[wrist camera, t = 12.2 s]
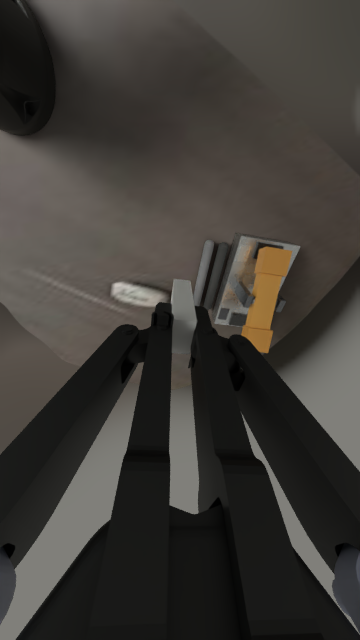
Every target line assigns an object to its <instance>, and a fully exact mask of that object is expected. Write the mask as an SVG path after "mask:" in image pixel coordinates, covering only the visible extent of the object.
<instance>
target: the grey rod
mask: <svg viewBox="0 0 360 640" xmlns="http://www.w3.org/2000/svg"><path fill="white" fill-rule="evenodd" d="M213 248H214V242H213V241H212V240H207V241H206V242H205V244H204V249H203V254H202V258H201V263H200V268H199V272H198V277H197V282H196V286H195V291H194V295H193V301H194V306H200V302H201V298H202V293H203V289H204V285H205V281H206V277H207V273H208V269H209V265H210V261H211V256H212V252H213Z"/></svg>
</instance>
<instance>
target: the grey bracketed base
mask: <svg viewBox="0 0 360 640" xmlns="http://www.w3.org/2000/svg"><path fill="white" fill-rule="evenodd" d="M264 247H272V248H278V249H284V250H289V251H292V255H291V259H290V263H289V267H288V271H287V274H288V272H289V269H290V267H291V265H292V263H293V261H294V259H295V257H296V255H297V253H298V251H299V249H300V247H301V246H299V245H296V244H293V243H290V242H285V241H279V240H274V239H268V238H262V237H257V236H251V235H245V234H240V233H236V234H235V237H234V240H233V244H232V247H231V251H230V254H229V258H228V261H227V264H226V268H225V271H224V275H223V278H222V282H221V285H220V288H219V292H218V295H217V299H216V302H215V306H214V309H213V312H212V318H213V321H214V323H215V324H222V325H230V326H238V327H243V325H246V320H247V315H248V310H249V307H250V304H251V302H252V299H253V295H252V291H253V287H254V282H255V277H256V274H255V273H254V272H255V267H256V263H257V258H258V253H259V249H261V248H264ZM285 278H286V276H285V277H282V279H281V283H280V288H281V286H282V284H283V282H284V280H285ZM280 288H279V290H280ZM276 301H277V305H276V306H275V309H274V310H275V311H276V312H281V311H282V309H283V307H284V305H285V303H286V301H285V300H284V299H283V298H282V297H281V296H280V295H279V294H278V296H277V300H276Z"/></svg>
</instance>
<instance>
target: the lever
mask: <svg viewBox="0 0 360 640" xmlns="http://www.w3.org/2000/svg"><path fill="white" fill-rule="evenodd" d="M291 255H292V251H289V250H284V249H278V248H272V247H264V248H261V249H259V253H258V258H257V263H256V267H255V272H254V273H255V274H256V277H255V282H254V287H253V291H252V295H253V299H252V302H251V304H250V307H249V310H248V315H247V320H246V325H243V330H242V334H241V335H242V336H244V337H246V338H247V339H248V340H250V342H251V343H252V344H253V345H254V346H255V348H256V349H257V350H258V351H259V352H264V353H268V351H269V346H270V342H271V338H272V334H273V331H272V330H270V326H271V322H272V317H273V313H274V309H275V306H276V305H277V301H276V300H277V296H278V292H279V288H280V283H281V279H282V277H285V276H287V271H288V267H289V263H290V259H291Z"/></svg>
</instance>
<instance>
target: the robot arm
mask: <svg viewBox="0 0 360 640" xmlns="http://www.w3.org/2000/svg"><path fill="white" fill-rule="evenodd" d="M54 101H55V76H54V69H53V64H52V60H51V56H50V52H49V49H48V46H47V43H46V40H45V38H44V35H43V33H42V31H41V29H40V27H39V25H38V22H37V21H36V19H35V17H34V15H33V13H32V12H31V10H30V8H29V7H28V5H27V4H26V2H25V1H24V0H0V129H1V130H3V131H6V132H8V133H11V134H15V135H29V134H33V133H35V132H37V131H39V130H40V129H41V128H42V127H43V126H44V125H45V124H46V123H47V121H48V120H49V118H50V116H51V113H52V110H53V106H54ZM190 350H191V357H190V362H189V366H188V368H190V367H191V380H192V392H193V406H194V419H195V431H196V444H197V458H198V471H199V492H198V510H199V513H198V514H190V513H188V512H185V511H183V510H180V509H177V508H175V507H172V506H170V505H169V498H170V496H169V495H170V456H169V431H170V429H169V428H170V397H171V394H170V393H171V362H172V353H180V354H190ZM140 362H144V365H143V370H142V375H141V381H140V386H139V391H138V396H137V401H136V406H135V411H134V417H133V422H132V427H131V432H130V437H129V442H128V447H127V451H126V454H125V456H124V459H123V462H122V467H121V472H120V476H119V481H118V486H117V491H116V496H115V501H114V506H113V510H112V515H111V520H109V521H108V522H107V523H106V524H104V525H103V526H102V527H101V528H100V529H99V530H98V531H97V532H96V533H95V534H94V535H93V537H92V538H91V539H90V540H89V541H88V543H87V544H86V545H85V547H84V548H83V549H82V551H81V552H80V553H79V555H78V556H77V557H76V559H75V560H74V561H73V563H72V564H71V565H70V567H69V568H68V570H67V571H66V572H65V574H64V575H63V576H62V578H61V579H60V581H59V582H58V583H57V585H56V586H55V587H54V589H53V590H52V591H51V592H50V594H49V596H48V597H47V598H46V599H45V601H44V602H43V603H42V605H41V606H40V607H39V609H38V610H37V611H36V613H35V614H34V615H33V617H32V618H31V619H30V621H29V622H28V624H27V625H26V626H25V628H24V629H23V630H22V632H21V633H20V635H19V636H18V637H17V638H16V640H360V635H359V633H360V472H359V470H358V469H357V468H356V467H355V466H354V465H353V463H352V462H351V461H350V460H349V459H348V457H347V456H346V455H345V454H344V453H343V451H342V450H341V449H340V448H339V447H338V445H337V444H336V443H335V442H334V441H333V439H332V438H331V437H330V436H329V435H328V433H327V432H326V431H325V430H324V429H323V428H322V427H321V425H320V424H319V423H318V422H317V420H316V419H315V418H314V417H313V416H312V414H311V413H310V412H309V411H308V410H307V409H306V407H305V406H304V405H303V404H302V403H301V401H300V400H299V399H298V398H297V396H296V395H295V394H294V393H293V392H292V391H291V389H290V388H289V387H288V386H287V385H286V383H285V382H284V381H283V380H282V379H281V377H280V376H279V375H278V374H277V373H276V372H275V371H274V369H273V368H272V367H271V365H270V364H269V363H268V362H267V361H266V360H265V358H264V357H263V356H262V355H261V354H260V352H259V351H258V350H257V349H256V348H255V346H254V345H253V344H252V343H251V342H250V340H248V339H247V338H246V337H244V336H242V335H232V336H230V338H229V339H227V338H224V337H221V336H219V335H218V333H217V331H216V330H215V329H214V328H213V327H212V325H211V321H210V318H209V315H208V310H207V309H206V308H205V307H202V306H194V301H193V294H192V288H191V282H190V281H188V280H180V279H174V281H173V290H172V298H171V303H162V302H159V303H158V304H157V305H156V308H155V312H153V313H152V320H151V327H149V328H147V329H144V330H138V328H137V327H136V326H134V325H129V324H126V325H121V326H119V327H117V328H116V329H115V330H114V331H113V333H112V334H111V335H110V336H109V337H108V338H107V339H106V340H105V341H104V342H103V343H102V345H101V346H100V347H99V348H98V349H97V350H96V351H95V352H94V353H93V354H92V355H91V357H90V358H89V359H88V360H87V361H86V362H85V363H84V364H83V365H82V366H81V367H80V369H79V370H78V371H77V372H76V373H75V374H74V375H73V376H72V377H71V378H70V380H68V382H67V383H66V384H65V385H64V386H63V387H62V388H61V389H60V390H59V392H57V394H56V395H55V396H54V397H53V398H52V399H51V400H50V401H49V402H48V403H47V404H46V406H45V407H44V408H43V409H42V410H41V411H40V412H39V413H38V414H37V416H35V418H34V419H33V420H32V421H31V422H30V423H29V424H28V425H27V426H26V428H25V429H24V430H23V431H22V432H21V433H20V434H19V435H18V436H17V437H16V438H15V439H14V440H13V441H12V443H11V444H10V445H9V446H8V447H7V448H6V449H5V450H4V451H3V452H2V454H1V455H0V624H1V622H2V620H3V619H4V617H5V615H6V613H7V611H8V609H9V606H10V604H11V601H12V599H13V595H14V591H15V587H16V574H15V570H14V569H15V568H16V567H17V565H18V564H19V563H20V562H21V560H22V559H23V558H24V556H25V555H26V553H27V552H28V551H29V549H30V548H31V546H32V545H33V544H34V542H35V541H36V539H37V538H38V536H39V535H40V533H41V532H42V530H43V528H44V527H45V525H46V524H47V522H48V520H49V519H50V517H51V516H52V514H53V512H54V510H55V509H56V507H57V505H58V503H59V501H60V500H61V498H62V496H63V495H64V493H65V491H66V489H67V488H68V486H69V484H70V482H71V481H72V479H73V477H74V475H75V474H76V472H77V470H78V468H79V467H80V465H81V463H82V461H83V460H84V458H85V456H86V455H87V453H88V451H89V449H90V448H91V445H92V444H93V442H94V441H95V439H96V437H97V435H98V434H99V432H100V430H101V428H102V426H103V425H104V423H105V421H106V420H107V418H108V416H109V414H110V413H111V411H112V409H113V407H114V406H115V404H116V402H117V400H118V399H119V397H120V395H121V393H122V392H123V390H124V388H125V386H126V385H127V383H128V381H129V379H130V378H131V376H132V374H133V372H134V371H135V369H136V367H137V365H138V363H140ZM242 369H243V370H242ZM241 413H242V414H243V416H244V418H245V420H246V422H247V424H248V426H249V428H250V429H251V431H252V433H253V435H254V437H255V439H256V440H257V443H258V444H259V446H260V448H261V450H262V452H263V454H264V456H265V458H266V459H267V461H268V463H269V465H270V467H271V469H272V470H273V472H274V474H275V476H276V478H277V480H278V482H279V484H280V486H281V488H282V489H283V491H284V493H285V495H286V497H287V499H288V501H289V503H290V504H291V506H292V508H293V510H294V512H295V514H296V516H297V518H298V519H299V521H300V523H301V525H302V526H303V528H304V530H305V531H306V533H307V535H308V537H309V538H310V540H311V541H312V542H313V544H314V546H315V547H316V549H317V551H318V552H319V553H320V555H321V557H322V558H323V559H324V561H325V562H326V564H327V565H328V566H329V568H330V569H331V570H332V572H333V573H334V574H335V579H334V580H333V583H332V588H333V593H334V596H335V598H336V601H337V603H338V605H339V606H340V607H341V608H342V610H343V611H344V612H345V613H346V614H347V615H349V616H350V617H351V618H352V620H353V622H354V624H355V625H356V627H357V629H358V631H359V633H358V632H357V631H356V630H355V628H354V627H353V626H352V624H351V623H350V622H349V620H348V619H347V618H346V616H345V615H344V614H343V612H342V611H341V610H340V609H339V607H338V606H337V605H336V603H335V602H334V601H333V599H332V598H331V597H330V595H329V594H328V593H327V591H326V590H325V589H324V588H323V586H322V585H321V584H320V582H319V581H318V580H317V578H316V577H315V576H314V574H313V573H312V572H311V570H310V569H309V568H308V567H307V565H306V564H305V563H304V561H303V560H302V559H301V557H300V556H299V555H298V553H297V552H296V551H295V549H294V548H293V547H292V545H291V542H290V539H289V536H288V533H287V530H286V527H285V524H284V521H283V518H282V514H281V511H280V508H279V505H278V502H277V499H276V496H275V493H274V490H273V487H272V484H271V481H270V478H269V475H268V473H267V470H266V468H265V466H264V464H263V463H262V461H260V460H259V459H257V458H256V457H255V456H254V454H253V452H252V449H251V445H250V442H249V438H248V435H247V431H246V428H245V425H244V421H243V418H242V415H241Z"/></svg>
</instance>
